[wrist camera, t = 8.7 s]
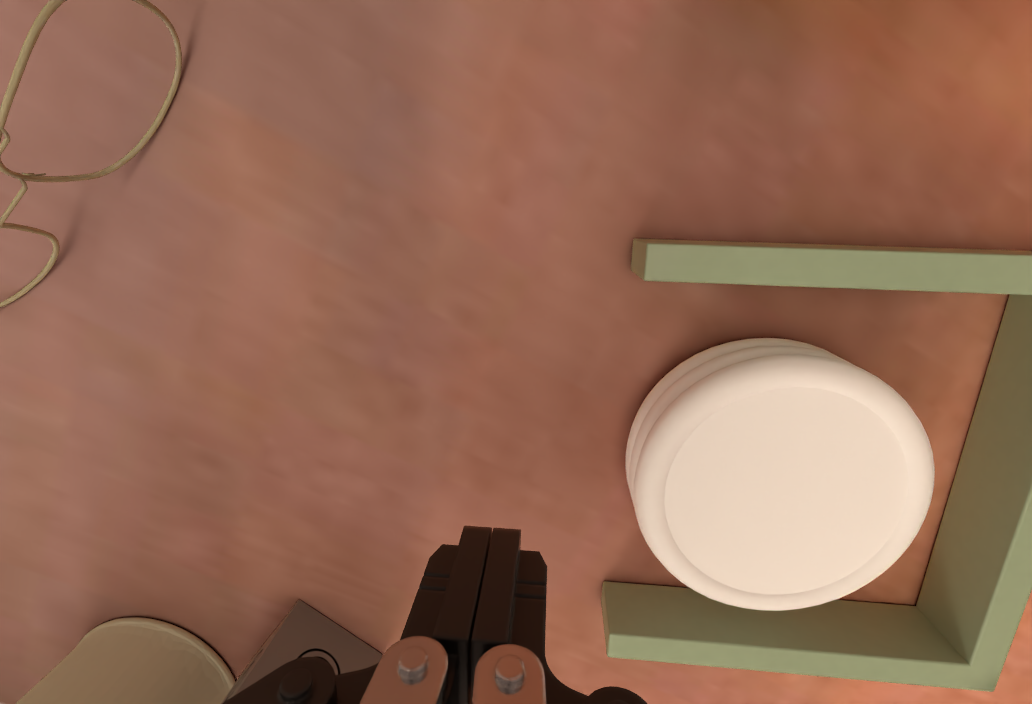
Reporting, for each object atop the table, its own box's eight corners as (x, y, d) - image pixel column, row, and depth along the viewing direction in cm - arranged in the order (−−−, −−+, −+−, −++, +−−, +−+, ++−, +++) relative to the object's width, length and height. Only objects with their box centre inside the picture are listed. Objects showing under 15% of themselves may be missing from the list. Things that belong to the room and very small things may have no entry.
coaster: (915, 355, 19) (994, 386, 15) (833, 573, 21) (884, 640, 18) (650, 316, 19) (670, 338, 16) (603, 535, 22) (611, 593, 18)
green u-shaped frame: (633, 238, 18) (647, 242, 16) (1057, 251, 17) (1157, 259, 14) (600, 602, 23) (606, 658, 20) (937, 629, 22) (994, 693, 19)
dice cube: (382, 654, 25) (340, 761, 20) (331, 710, 26) (280, 822, 21) (299, 599, 24) (235, 694, 19) (251, 659, 26) (180, 762, 21)
